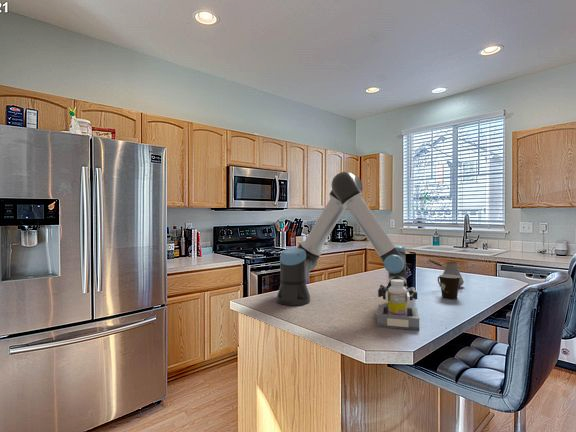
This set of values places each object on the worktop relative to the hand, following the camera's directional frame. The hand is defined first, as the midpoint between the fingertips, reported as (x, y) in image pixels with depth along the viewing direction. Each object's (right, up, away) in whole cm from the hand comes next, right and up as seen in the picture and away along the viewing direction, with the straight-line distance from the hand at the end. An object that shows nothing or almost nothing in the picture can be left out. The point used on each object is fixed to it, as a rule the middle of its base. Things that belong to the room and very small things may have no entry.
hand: (397, 299), depth 118 cm
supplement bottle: (+2, -7, +5) cm, 9 cm away
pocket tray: (+2, -9, +5) cm, 11 cm away
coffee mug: (+37, -9, +41) cm, 56 cm away
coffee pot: (+45, -9, +61) cm, 77 cm away
